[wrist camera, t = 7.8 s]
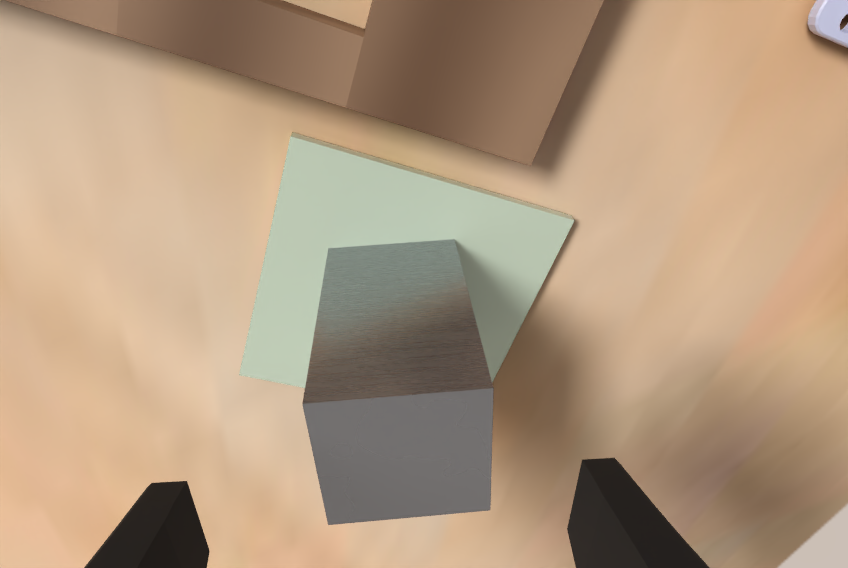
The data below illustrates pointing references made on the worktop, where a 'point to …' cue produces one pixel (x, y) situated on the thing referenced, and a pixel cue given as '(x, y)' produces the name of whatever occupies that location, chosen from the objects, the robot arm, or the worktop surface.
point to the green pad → (387, 224)
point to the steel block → (398, 386)
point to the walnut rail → (380, 56)
